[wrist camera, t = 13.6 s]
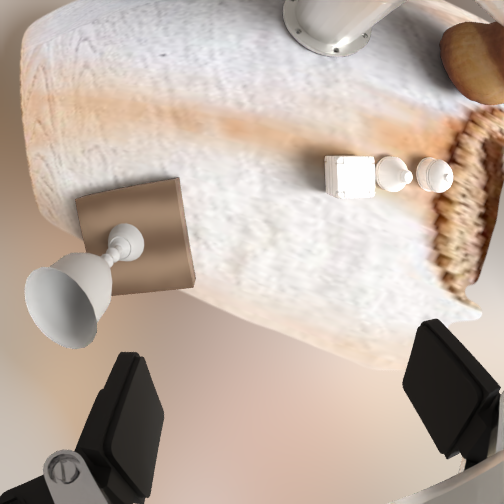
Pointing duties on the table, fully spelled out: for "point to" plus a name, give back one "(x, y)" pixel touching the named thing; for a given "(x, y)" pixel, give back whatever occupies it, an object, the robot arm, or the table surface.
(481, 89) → the butternut squash
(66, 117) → the table surface
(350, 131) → the table surface
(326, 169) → the container set
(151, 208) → the walnut plinth
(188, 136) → the table surface
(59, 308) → the chalice
